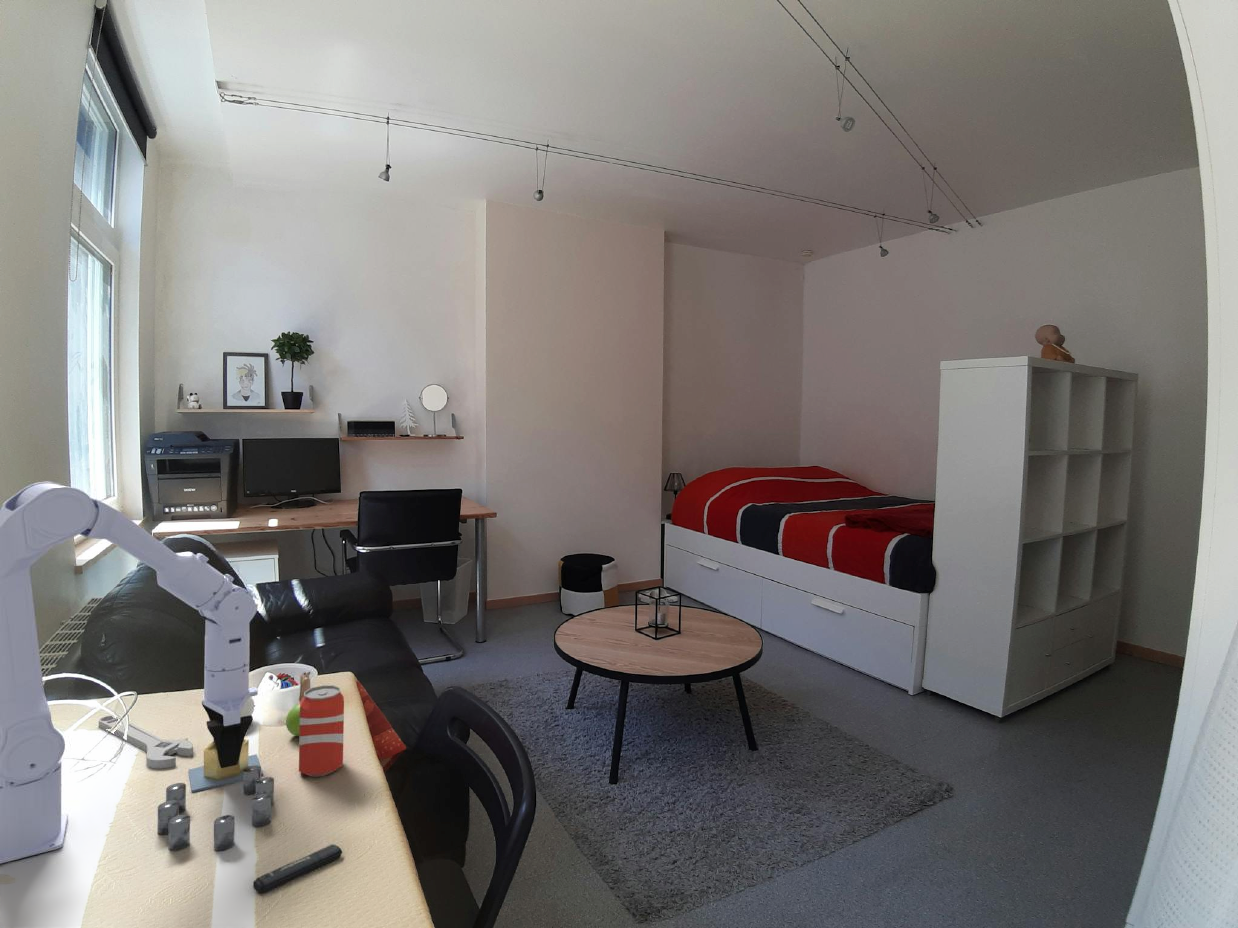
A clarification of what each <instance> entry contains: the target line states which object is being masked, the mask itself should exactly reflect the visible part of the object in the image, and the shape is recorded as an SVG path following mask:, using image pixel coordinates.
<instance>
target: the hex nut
mask: <svg viewBox="0 0 1238 928" xmlns="http://www.w3.org/2000/svg"><path fill="white" fill-rule="evenodd" d="M249 744H250V743H249V739H247V738H244V741H243V744H242V749H241V753H240V757H239V761H238V764H237V765H234V766H230V767H225V768H221V767H220V764H219V760H218V755H217V748H216V744H215V741H214V740H212V741H211V742H210V743H209V744H208V745H207V746H206V747H204V749H203V766H204V777H207V778H209V779H212V780H215V781H219V780H223V779H228V778H232V777H236V776H240V774H241V773H242V772H243V770H244V769H245V768H247V767H248V756H249Z"/></svg>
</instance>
